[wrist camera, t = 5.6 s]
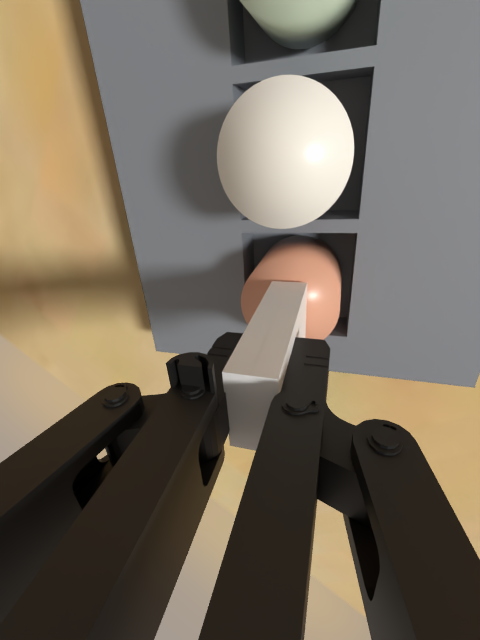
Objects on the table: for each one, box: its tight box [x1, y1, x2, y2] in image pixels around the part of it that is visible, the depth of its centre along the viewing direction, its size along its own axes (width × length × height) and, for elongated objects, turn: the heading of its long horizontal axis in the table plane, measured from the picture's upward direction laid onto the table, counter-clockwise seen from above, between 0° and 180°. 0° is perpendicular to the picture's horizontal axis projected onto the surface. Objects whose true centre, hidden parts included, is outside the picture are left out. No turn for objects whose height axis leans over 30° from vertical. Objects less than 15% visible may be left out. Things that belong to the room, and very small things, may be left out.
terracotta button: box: [241, 235, 342, 340], centre depth 16 cm, size 4×4×4 cm
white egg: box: [217, 75, 354, 229], centre depth 12 cm, size 4×4×4 cm
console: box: [80, 0, 480, 388], centre depth 15 cm, size 18×22×3 cm
